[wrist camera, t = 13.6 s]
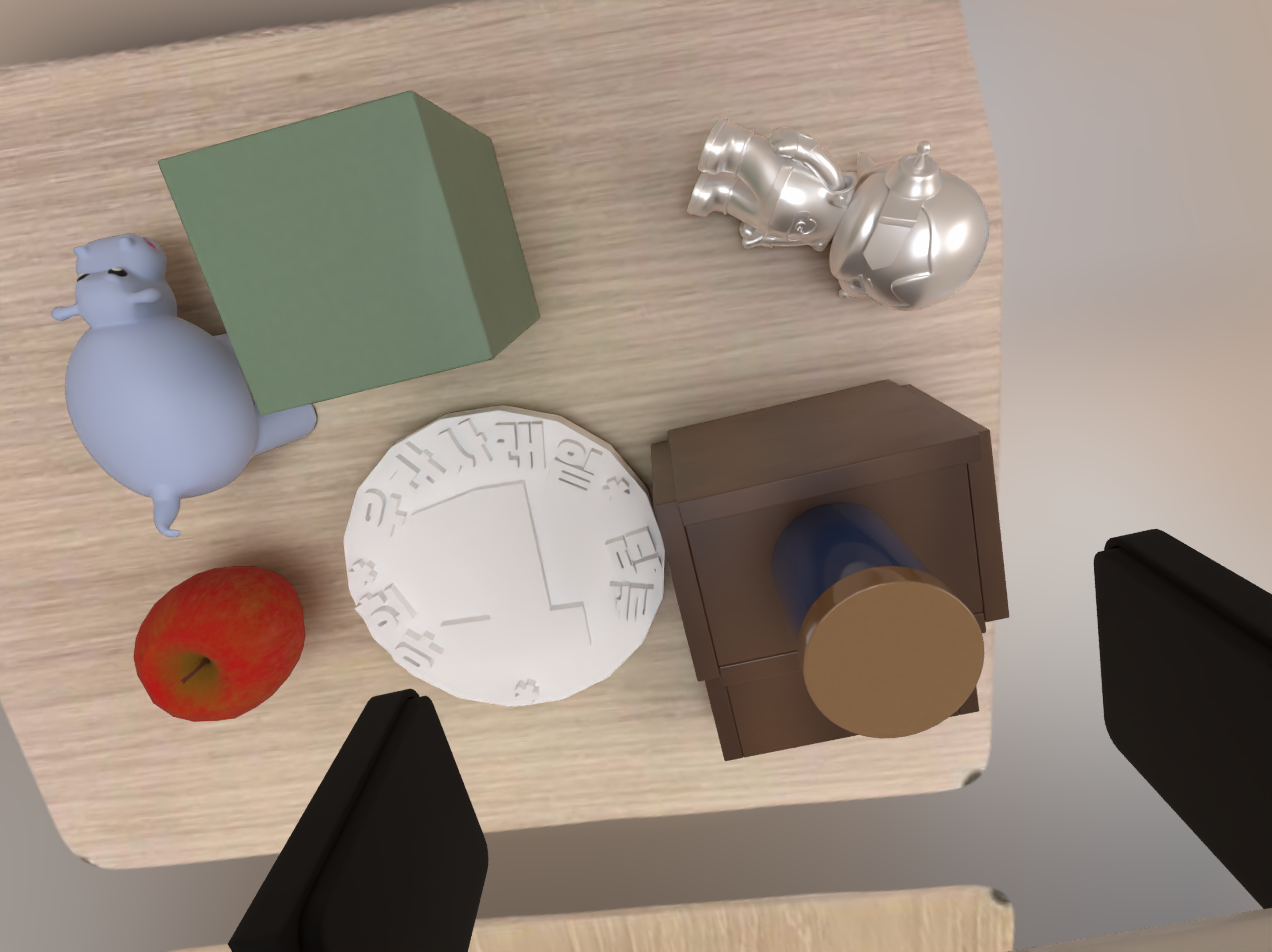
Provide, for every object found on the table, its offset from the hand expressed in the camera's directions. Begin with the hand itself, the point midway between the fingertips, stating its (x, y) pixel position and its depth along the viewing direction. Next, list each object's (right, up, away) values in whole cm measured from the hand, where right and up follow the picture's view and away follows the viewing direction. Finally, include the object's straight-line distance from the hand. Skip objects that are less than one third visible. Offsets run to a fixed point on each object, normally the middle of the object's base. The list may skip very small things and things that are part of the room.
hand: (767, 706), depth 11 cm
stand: (-13, +16, +33) cm, 39 cm away
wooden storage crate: (+9, -2, +39) cm, 40 cm away
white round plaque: (-10, -2, +39) cm, 40 cm away
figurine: (+9, +18, +32) cm, 38 cm away
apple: (-26, -4, +40) cm, 48 cm away
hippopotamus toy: (-27, +10, +35) cm, 46 cm away
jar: (+8, -1, +27) cm, 28 cm away
